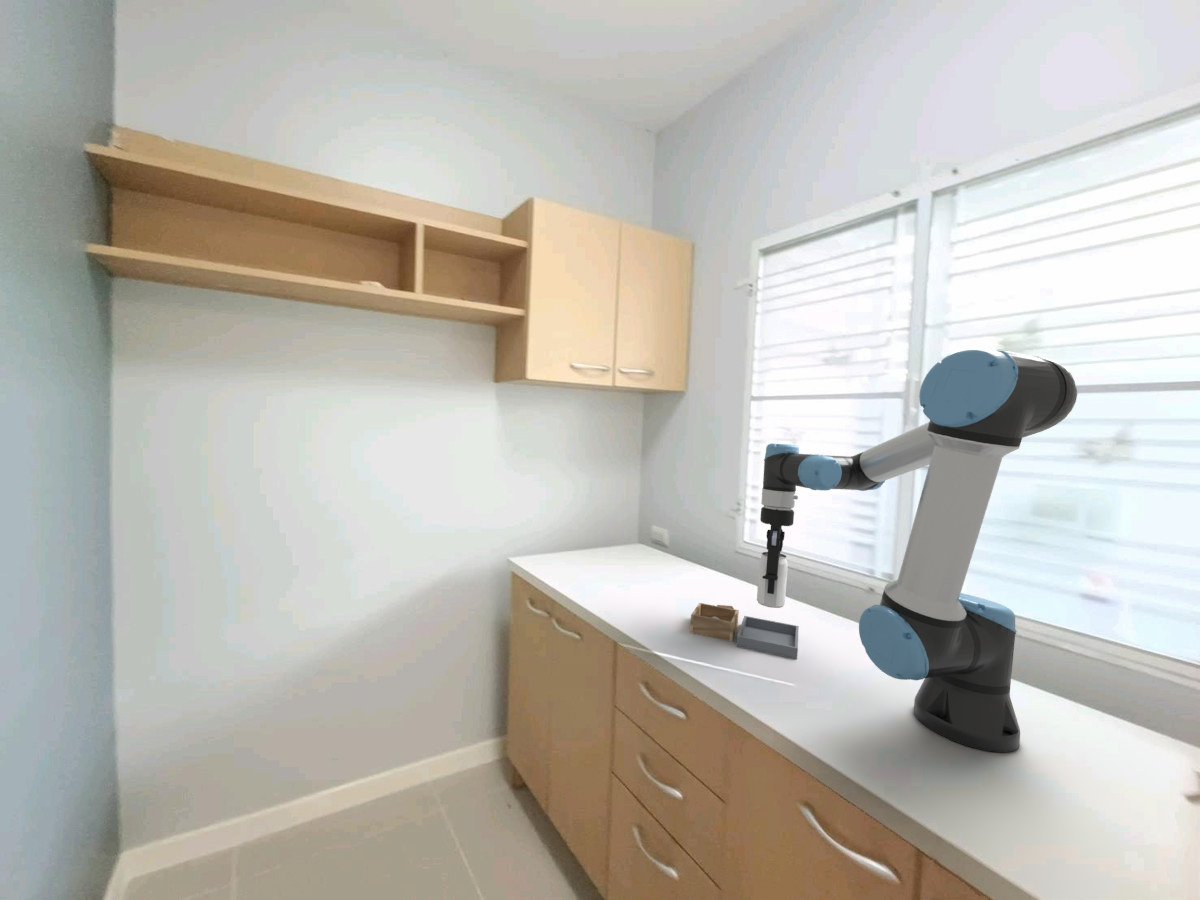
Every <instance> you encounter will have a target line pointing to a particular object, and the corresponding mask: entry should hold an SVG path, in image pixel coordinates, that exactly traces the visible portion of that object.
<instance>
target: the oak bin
mask: <svg viewBox="0 0 1200 900" xmlns="http://www.w3.org/2000/svg"><path fill="white" fill-rule="evenodd" d="M739 610H740V609H735V608H734V609H730V608H725V607H719V606H717V605H713V604H709V603H704V602H703V603H702V602H698V604H697V606H696V607H695V608H694V609H693V611H692V613H691V614H690V628H689V633H692V634H695V635H696V634H697V635H701V636H706V637H710V638H715V639H720V640H724V641H728V642H729V641H730V642H733V639H734V637H735V635H736V633H737V629H738V623H739V614H740V612H739ZM711 617H718V618H719V619H715V618H711Z"/></svg>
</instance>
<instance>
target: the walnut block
mask: <svg viewBox="0 0 1200 900" xmlns="http://www.w3.org/2000/svg"><path fill="white" fill-rule="evenodd" d="M716 606H719V607H725V608H730V609H735V608H734V607H733V606H732V605H726V604H716Z"/></svg>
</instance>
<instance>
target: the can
mask: <svg viewBox="0 0 1200 900" xmlns="http://www.w3.org/2000/svg"><path fill="white" fill-rule="evenodd" d="M767 555H768V551H765V552H762V553H761V556H760V557H759V561H758V562H759V563H758V576H757V579H758V580H757V593H756V601H757V603H758V604H759V605H761V606H763V607H767V608H769V607H768V606H764V593H765V579H763V576H765V574H766V567H767ZM788 564H789V562H788V560H787V555H786V554H783V553H780V554H779V563H778V574H777V576H778V579H777V580H778V584H777V598H776V608H774V607H770V608H774V609H780V608H783V607H784V606H785V604H786V594H787V583H788V582H787V581H788V579H787V578H788V568H789V567H788V566H789V565H788ZM770 574H772V573H770Z"/></svg>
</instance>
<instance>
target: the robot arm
mask: <svg viewBox="0 0 1200 900" xmlns="http://www.w3.org/2000/svg"><path fill="white" fill-rule="evenodd" d="M1077 398H1078V388H1077V383H1076V380H1075V378H1074V376H1073V374H1072V373H1071V372H1070V371H1069V370H1068V369H1067V368H1066V367H1065V366H1063V365H1062V364H1060V363H1059V362H1057V361H1055V360H1052V359H1049V358H1045V357H1041V356H1035V355H1034V356H1033V355H1026V354H1021V353H1017V352H1012V351H1006V350H1001V349H993V348H966V349H961V350H958V351H955V352H953V353H950V354H948V355H947V356H945V357H944V358H942V359H941V360H939V361H938V362H936V363H935V364H934V365H933V366H932V367H931V368H930V369H929V371H928V373H926V375H925V377H924V379H923V381H922V383H921V385H920V390H919V405H920V406H921V407H922V408H923V409H922V412H923V414H924V416H925V417H926V418H927V419H928V420H929V421H928V422H926V423H924V424H922V425H920V426H917V427H915V428H912V429H911V430H909V431H906V432H904V433H901V434H900V435H896V436H895V437H893V438H890V439H888V440H886V441H884V442H882V443H879V444H877V445H874V446H873V447H871V448H868V449H866V450H864V451H862V452H860V453H857V454H855V455H853V456H851V455H850V456H847V455H846V456H845V455H843V456H842V455H826V454H819V453H817V454H812V453H811V454H810V453H809V454H807V453H806V454H805V453H800V450H799V446H798V445H796V444H786V443H769V444H767V445H766V448H765V454H764V458H763V460H764V463H763V477H762V479H763V480H762V489H761V502H760V504H761V505H762V507H761V509H760V519H759V520H760V522H761V523H762V524H765V525H770V529H767V531H766V549H767V552H768V555H767V567H766V574H765V576H763V579H765V593H764V606H763V607H766V606H768V607H767V608H771V607H774V609H777V608H776V598H777V584H778V580H777V579H778V576H777V574H778V563H779V554H781V552H782V551H783V545H784V540H785V536H786V535H785V534H786V533H785V531H783V528H782V527H790V526H793V525H794V520H795V519H794V518H795V517H794V516H795V511H794V509H793V508H794V507H795V503H796V502H795V500H798V499H799V496H798V495H796V491H797V487H801V488H806V489H810V490H811V491H830V490H845V491H846V490H847V491H848V490H851V491H860V492H861V491H862V492H864V491H872V490H878V489H880V488H881V487H882V485H884V483H885V482H886V481H887V480H891V479H893V478H897V477H898V476H901V475H904V474H907V473H910V472H913V471H915V470H918V469H920V468H924V467H927V466H928V467H927V468H928V469H927V471H926V472H927V473H926V476H925V480H924V484H923V488H922V490H921V495H920V498H919V501H918V505H917V509H916V512H915V515H914V516H915V517H914V518H913V519H914V520H913V523H912V527H911V529H910V534H909V538H908V541H907V546H906V549H905V552H904V555H903V559H902V564H901V567H900V570H899V574H898V577H897V579H895V580H894V581H892V582H888V583H886V584H885V586H884V588H883V592H882V595H881V599H880V603H879V604H874V605H871V606H870V607H868V608H866V609H865V610H864V611H863V612H862V614H861V615H860V617H859V621H858V633H859V634H858V635H859V637H860V639H859V640H860V642H861V645H862V646H863V648H864V650H865V654H866V655H867V656H868V658H869V659H870V661H871V662H872V663H873V665H874V666H875V667H876V668H878V669H879V670H880V671H881V672H883V673H884V674H885V675H887V676H889V677H891V678H893V679H896V680H897V679H898V680H901V681H903V680H904V681H905V680H911V681H920V680H923V681H922V683H921V686H920V687H919V689H918V691H917V693H916V695H915V697H914V700H913V701H914V703H913V714H914V715H915V717H916V718H917V719H918V720H919V722H921V723H922V724H923V725H924V726H926V727H927V728H928V729H930V730H931V731H933V732H935V733H936V734H939V735H940V736H943V737H944V738H946V739H948V740H951V741H953V742H956V743H959V744H961V745H964V746H967V747H971V748H973V749H979V750H982V751H986V752H988V751H989V752H993V753H1009V752H1013V751H1016V750H1017V749H1019V747H1020V743H1021V729H1020V725H1019V722H1018V719H1017V716H1016V711H1015V708H1014V705H1013V702H1012V698H1011V683H1012V674H1013V673H1012V671H1013V663H1014V662H1013V660H1014V650H1015V643H1016V642H1015V639H1016V634H1017V630H1016V615H1015V613H1014V612H1013V611H1012V609H1010V608H1009V607H1007V606H1005V605H1003V604H1001V603H998V602H995V601H991V600H989V599H986V598H982V597H978V596H974V595H970V594H966V593H964V592H962V590H963V586H964V583H965V581H966V578H967V577H966V576H967V574H968V570H969V567H970V564H971V561H972V558H973V555H974V554H973V553H974V552H975V548H976V544H977V542H978V538H979V535H980V532H981V528H982V525H983V522H984V519H985V515H986V511H987V509H988V506H989V502H990V499H991V496H992V493H993V490H994V485H995V482H996V479H997V476H998V473H999V470H1000V466H1001V463H1002V460H1003V458H1004V457H1005V456H1007V455H1008V454H1011V453H1012V452H1015V451H1016V450H1019V449H1020V446H1021V442H1022V440H1023V439H1024V438H1026V437H1029V436H1033V435H1034V434H1038V433H1041V432H1043V431H1046V430H1047V431H1048V429H1051V428H1052V427H1054V426H1057V425H1058V424H1060V423H1061V422H1062V421H1063V420H1065V419H1066V418H1067V417H1068V415H1069V414H1070V413H1071V412H1072V411H1073V408H1074V406H1075V404H1076V402H1077ZM770 573H772V574H770Z"/></svg>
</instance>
